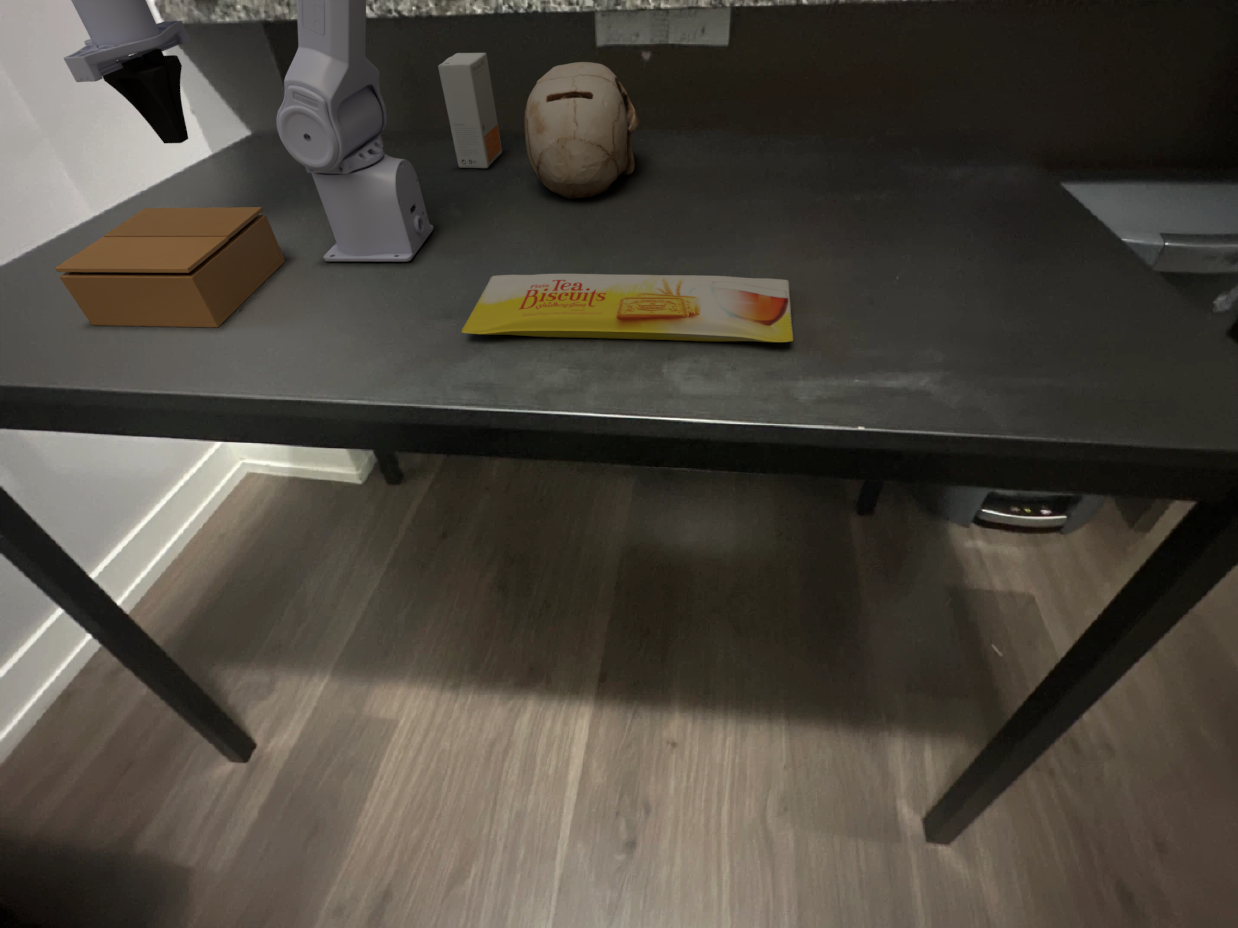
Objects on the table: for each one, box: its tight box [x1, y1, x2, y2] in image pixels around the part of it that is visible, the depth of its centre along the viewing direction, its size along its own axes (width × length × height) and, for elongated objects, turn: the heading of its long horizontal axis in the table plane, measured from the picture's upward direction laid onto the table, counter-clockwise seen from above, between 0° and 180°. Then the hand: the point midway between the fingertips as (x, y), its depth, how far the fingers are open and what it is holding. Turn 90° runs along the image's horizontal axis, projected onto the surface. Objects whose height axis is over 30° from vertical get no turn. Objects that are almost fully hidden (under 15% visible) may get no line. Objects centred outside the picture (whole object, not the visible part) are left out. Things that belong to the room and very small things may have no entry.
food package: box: [460, 273, 794, 343], centre depth 59 cm, size 27×2×10 cm
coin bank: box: [523, 61, 640, 200], centre depth 80 cm, size 16×17×13 cm
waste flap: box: [54, 236, 229, 273], centre depth 62 cm, size 13×6×1 cm, turn 83°
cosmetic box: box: [437, 52, 503, 169], centre depth 86 cm, size 6×4×12 cm
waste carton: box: [59, 206, 286, 328], centre depth 66 cm, size 13×13×6 cm
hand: (176, 141), depth 70 cm, fingers closed
